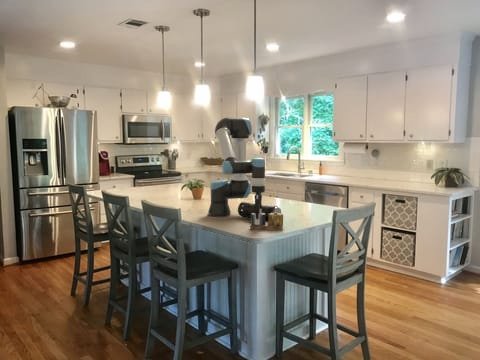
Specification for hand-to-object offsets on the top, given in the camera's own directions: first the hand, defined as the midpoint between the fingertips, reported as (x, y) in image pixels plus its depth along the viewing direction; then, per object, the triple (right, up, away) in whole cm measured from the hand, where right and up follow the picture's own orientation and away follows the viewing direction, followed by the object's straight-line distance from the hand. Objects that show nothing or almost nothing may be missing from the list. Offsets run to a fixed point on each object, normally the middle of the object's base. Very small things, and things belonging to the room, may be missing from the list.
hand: (258, 222), depth 226 cm
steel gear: (0, -1, 0) cm, 1 cm away
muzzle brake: (+2, -1, +21) cm, 21 cm away
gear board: (+5, -3, 0) cm, 6 cm away
